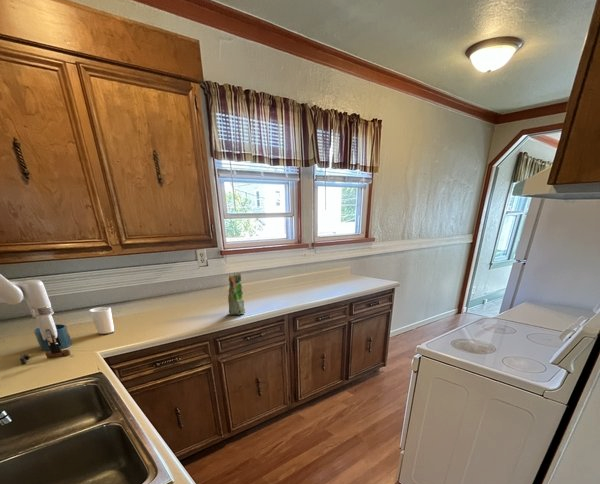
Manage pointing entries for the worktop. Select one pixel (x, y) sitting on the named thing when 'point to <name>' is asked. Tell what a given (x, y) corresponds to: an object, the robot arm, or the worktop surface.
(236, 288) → the pouch
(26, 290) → the robot arm
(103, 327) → the cup
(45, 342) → the crock
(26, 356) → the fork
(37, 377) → the worktop surface
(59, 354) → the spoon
